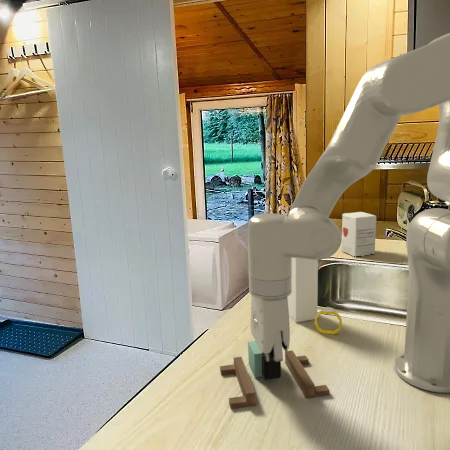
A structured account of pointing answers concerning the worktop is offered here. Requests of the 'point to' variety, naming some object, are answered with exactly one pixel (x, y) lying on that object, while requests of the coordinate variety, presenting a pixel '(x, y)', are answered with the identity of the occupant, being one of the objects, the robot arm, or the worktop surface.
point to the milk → (303, 290)
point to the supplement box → (358, 233)
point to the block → (255, 359)
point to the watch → (329, 312)
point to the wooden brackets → (248, 389)
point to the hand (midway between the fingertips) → (271, 376)
